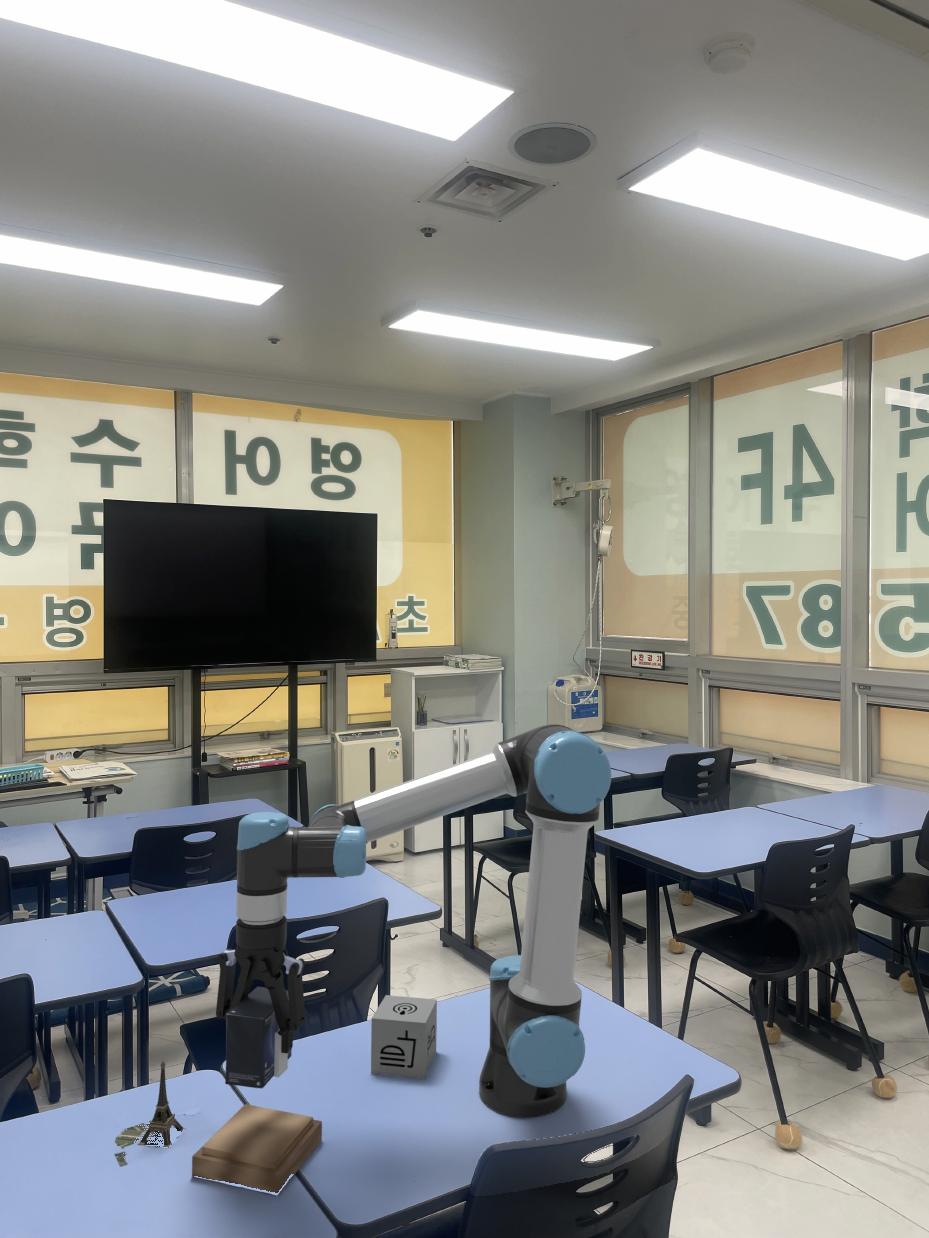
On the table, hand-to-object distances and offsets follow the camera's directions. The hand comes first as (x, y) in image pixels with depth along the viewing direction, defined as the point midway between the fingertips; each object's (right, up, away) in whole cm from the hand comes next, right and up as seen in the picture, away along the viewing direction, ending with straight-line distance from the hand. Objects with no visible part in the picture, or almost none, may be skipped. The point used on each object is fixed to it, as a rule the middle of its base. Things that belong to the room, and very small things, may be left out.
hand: (259, 1068), depth 132 cm
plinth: (0, -14, 0) cm, 14 cm away
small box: (0, 0, 0) cm, 1 cm away
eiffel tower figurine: (-17, -14, +6) cm, 23 cm away
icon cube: (+20, -14, +29) cm, 38 cm away
